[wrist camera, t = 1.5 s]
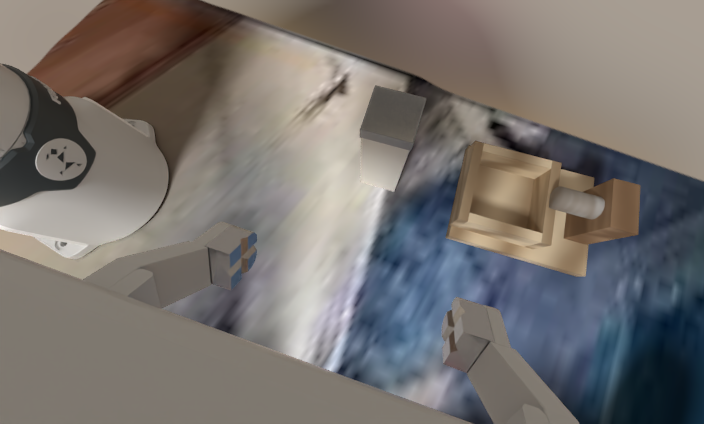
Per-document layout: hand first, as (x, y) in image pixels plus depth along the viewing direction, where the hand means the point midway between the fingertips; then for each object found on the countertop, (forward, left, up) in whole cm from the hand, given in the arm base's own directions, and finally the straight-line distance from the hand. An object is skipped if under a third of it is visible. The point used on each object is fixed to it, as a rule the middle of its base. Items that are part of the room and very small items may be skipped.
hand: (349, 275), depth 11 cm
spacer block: (-1, +14, -21) cm, 26 cm away
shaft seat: (+16, +14, -21) cm, 30 cm away
